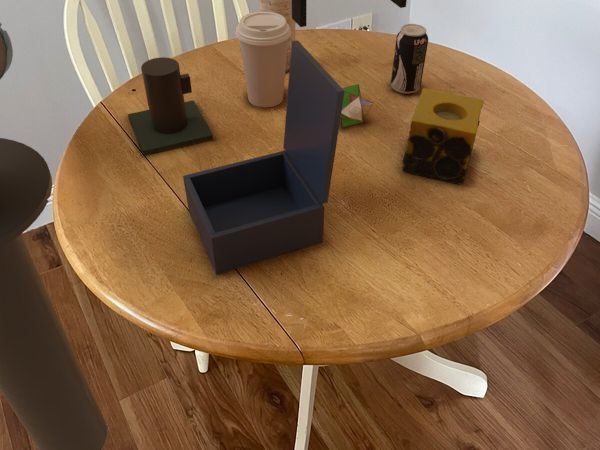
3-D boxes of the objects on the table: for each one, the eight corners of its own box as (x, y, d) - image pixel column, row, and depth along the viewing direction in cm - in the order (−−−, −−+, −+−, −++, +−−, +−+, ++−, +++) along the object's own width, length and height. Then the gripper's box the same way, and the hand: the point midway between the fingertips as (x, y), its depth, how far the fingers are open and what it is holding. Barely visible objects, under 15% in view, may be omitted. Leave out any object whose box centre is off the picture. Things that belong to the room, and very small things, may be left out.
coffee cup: (232, 106, 107) (225, 28, 97) (251, 81, 114) (247, 6, 104) (281, 116, 105) (279, 37, 95) (298, 90, 112) (298, 13, 102)
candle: (413, 138, 101) (421, 86, 94) (472, 150, 98) (485, 98, 91) (399, 172, 94) (408, 119, 87) (463, 186, 91) (477, 133, 84)
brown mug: (157, 137, 99) (145, 78, 91) (149, 118, 103) (137, 61, 95) (199, 127, 101) (192, 69, 93) (190, 109, 105) (182, 53, 97)
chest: (216, 274, 78) (211, 238, 73) (188, 211, 87) (182, 175, 82) (322, 242, 82) (324, 206, 77) (286, 185, 91) (285, 150, 86)
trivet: (128, 118, 104) (127, 113, 104) (194, 104, 108) (193, 100, 107) (143, 156, 96) (142, 151, 96) (213, 139, 100) (212, 134, 99)
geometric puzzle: (319, 100, 105) (333, 81, 98) (352, 92, 107) (368, 72, 100) (333, 137, 104) (348, 120, 97) (366, 128, 107) (384, 111, 99)
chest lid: (338, 91, 66) (344, 90, 66) (291, 40, 75) (297, 40, 75) (321, 204, 77) (327, 202, 77) (283, 147, 86) (288, 146, 86)
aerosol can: (302, 64, 119) (303, -38, 106) (279, 76, 116) (278, -27, 102) (277, 53, 123) (275, -47, 109) (254, 65, 119) (249, -37, 105)
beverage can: (392, 79, 115) (400, 20, 107) (421, 83, 114) (431, 24, 106) (387, 93, 111) (395, 33, 103) (418, 98, 110) (428, 38, 102)
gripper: (447, -211, 64) (420, -15, 78) (228, -195, 57) (244, 18, 71) (489, -201, 59) (452, 7, 73) (254, -182, 52) (265, 44, 66)
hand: (349, 12), depth 72 cm, fingers open, 13 cm apart
